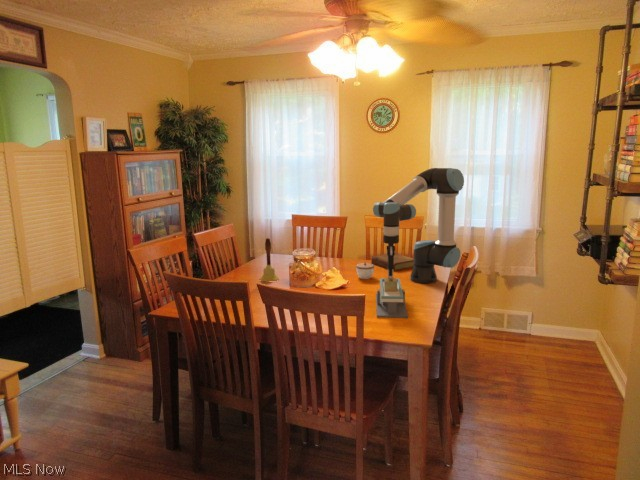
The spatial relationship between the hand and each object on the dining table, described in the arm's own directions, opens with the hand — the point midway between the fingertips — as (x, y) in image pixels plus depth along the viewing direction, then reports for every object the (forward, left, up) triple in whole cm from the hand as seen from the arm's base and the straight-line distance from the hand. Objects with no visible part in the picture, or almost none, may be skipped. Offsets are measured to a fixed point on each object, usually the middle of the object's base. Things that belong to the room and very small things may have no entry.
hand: (390, 281), depth 225 cm
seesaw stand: (0, +3, -12) cm, 12 cm away
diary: (-6, -76, -12) cm, 77 cm away
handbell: (+70, -40, -12) cm, 81 cm away
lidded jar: (+13, -46, -12) cm, 49 cm away
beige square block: (0, +4, -3) cm, 5 cm away
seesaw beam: (0, +3, -5) cm, 5 cm away
